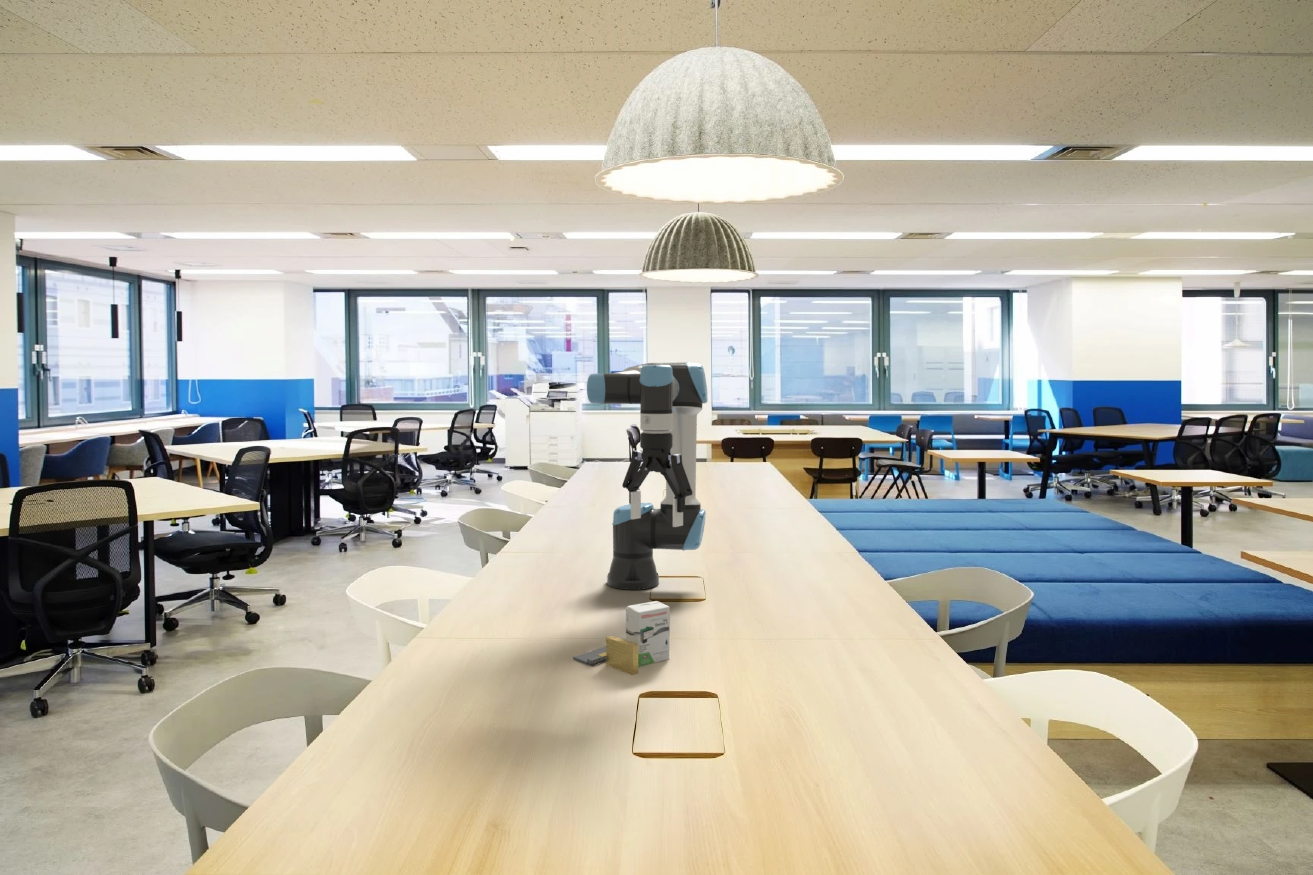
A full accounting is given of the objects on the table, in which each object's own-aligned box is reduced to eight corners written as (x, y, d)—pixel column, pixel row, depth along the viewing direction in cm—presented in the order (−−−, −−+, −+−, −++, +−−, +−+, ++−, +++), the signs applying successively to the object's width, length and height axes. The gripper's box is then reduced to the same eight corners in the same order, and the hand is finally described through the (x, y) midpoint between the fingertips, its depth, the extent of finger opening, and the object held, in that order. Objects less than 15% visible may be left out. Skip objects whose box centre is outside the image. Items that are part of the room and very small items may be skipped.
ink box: (637, 667, 168) (637, 612, 167) (624, 660, 172) (624, 606, 171) (670, 659, 173) (671, 605, 172) (657, 652, 177) (657, 599, 176)
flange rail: (573, 659, 172) (572, 631, 172) (626, 641, 184) (626, 615, 183) (624, 678, 162) (624, 649, 161) (677, 658, 173) (677, 631, 173)
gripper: (607, 429, 192) (608, 517, 194) (686, 435, 175) (685, 531, 176) (630, 428, 197) (630, 513, 199) (708, 433, 180) (707, 527, 182)
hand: (656, 522), depth 188 cm, fingers open, 13 cm apart
